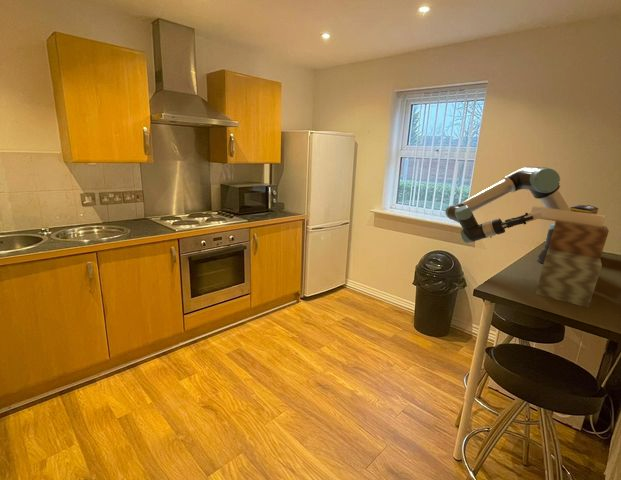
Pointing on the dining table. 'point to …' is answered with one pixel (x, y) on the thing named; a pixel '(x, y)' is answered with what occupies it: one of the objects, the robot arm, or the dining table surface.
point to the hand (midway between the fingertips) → (543, 213)
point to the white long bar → (570, 216)
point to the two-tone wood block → (572, 263)
